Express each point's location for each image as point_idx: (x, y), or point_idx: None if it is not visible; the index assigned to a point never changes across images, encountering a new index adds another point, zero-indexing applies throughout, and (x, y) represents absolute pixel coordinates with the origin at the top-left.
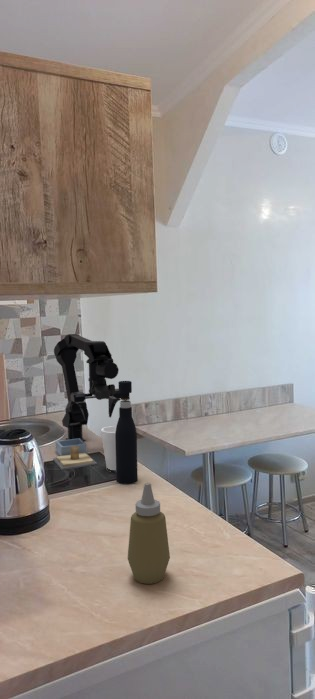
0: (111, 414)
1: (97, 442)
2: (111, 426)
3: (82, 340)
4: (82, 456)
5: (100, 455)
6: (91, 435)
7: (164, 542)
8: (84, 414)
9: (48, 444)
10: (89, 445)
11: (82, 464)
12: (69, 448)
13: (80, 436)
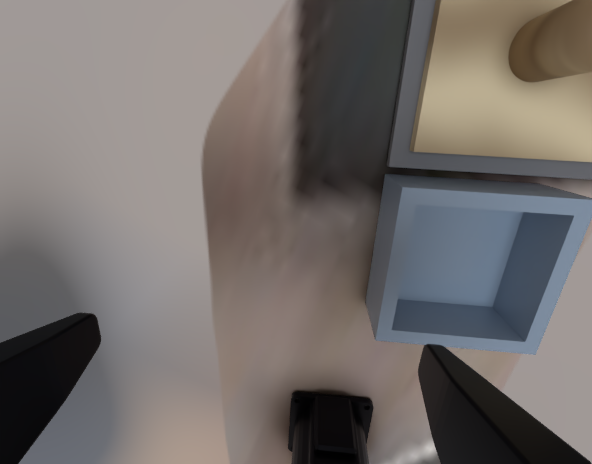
0: (39, 330)
1: (245, 351)
2: None
3: None
4: (471, 69)
5: (317, 123)
6: (235, 451)
7: None
8: (520, 409)
9: None
10: (299, 328)
11: None
12: (524, 192)
13: (319, 414)
